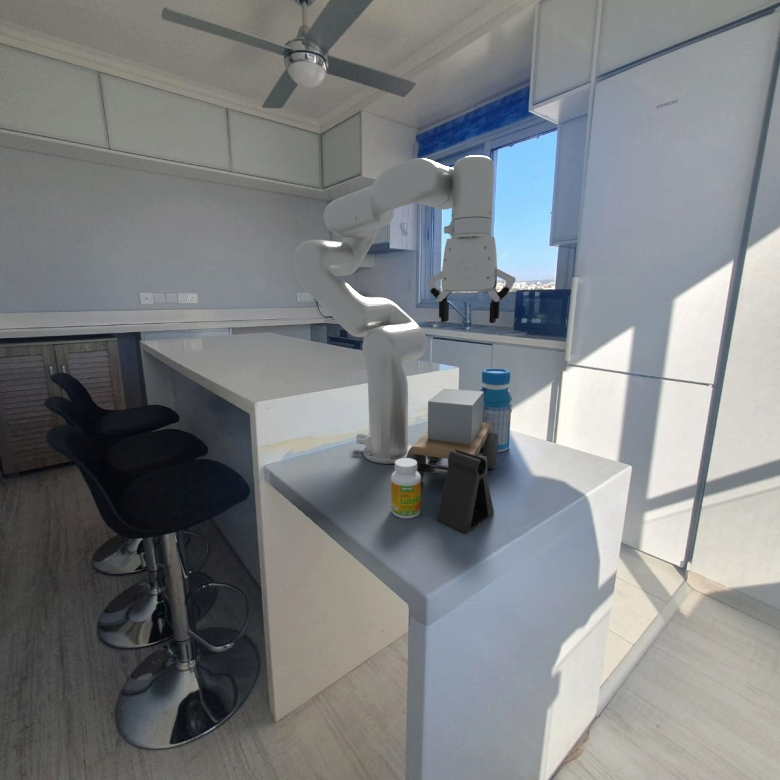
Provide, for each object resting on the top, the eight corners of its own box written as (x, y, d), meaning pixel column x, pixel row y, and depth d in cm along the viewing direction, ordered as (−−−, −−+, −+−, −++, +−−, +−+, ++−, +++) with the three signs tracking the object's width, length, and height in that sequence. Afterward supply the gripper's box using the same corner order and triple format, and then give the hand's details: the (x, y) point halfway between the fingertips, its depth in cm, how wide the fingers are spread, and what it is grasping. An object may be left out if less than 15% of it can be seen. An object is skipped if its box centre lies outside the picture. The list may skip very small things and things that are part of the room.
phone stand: (463, 534, 68) (465, 467, 65) (436, 520, 72) (436, 457, 70) (494, 514, 74) (497, 451, 71) (466, 502, 78) (468, 443, 76)
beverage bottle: (493, 455, 100) (497, 375, 96) (469, 445, 107) (471, 369, 102) (516, 448, 105) (521, 371, 100) (492, 439, 112) (495, 366, 107)
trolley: (478, 505, 77) (482, 415, 73) (404, 491, 83) (403, 407, 79) (497, 461, 97) (500, 388, 93) (435, 452, 103) (436, 383, 99)
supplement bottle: (399, 522, 72) (398, 470, 70) (387, 507, 77) (386, 459, 75) (426, 515, 74) (426, 465, 72) (412, 501, 79) (412, 454, 77)
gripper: (421, 231, 78) (420, 322, 82) (515, 224, 71) (510, 324, 75) (433, 236, 85) (432, 320, 89) (520, 230, 78) (515, 321, 82)
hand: (468, 322), depth 82 cm, fingers open, 9 cm apart
